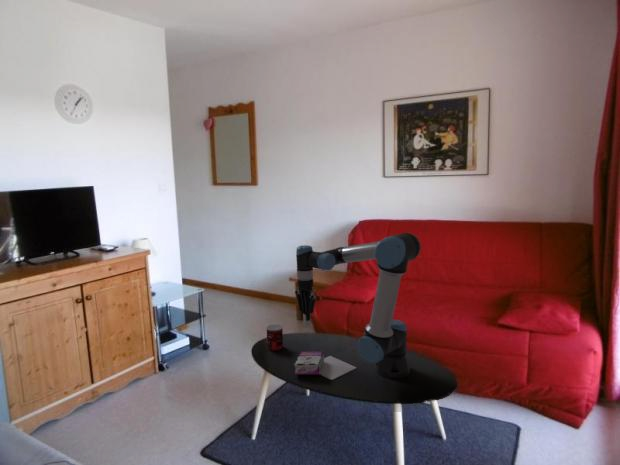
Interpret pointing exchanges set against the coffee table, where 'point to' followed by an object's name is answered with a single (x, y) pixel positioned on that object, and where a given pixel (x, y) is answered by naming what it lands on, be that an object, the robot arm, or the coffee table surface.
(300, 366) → the candy bar box
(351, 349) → the coffee table surface
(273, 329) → the canned food
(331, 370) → the mat
